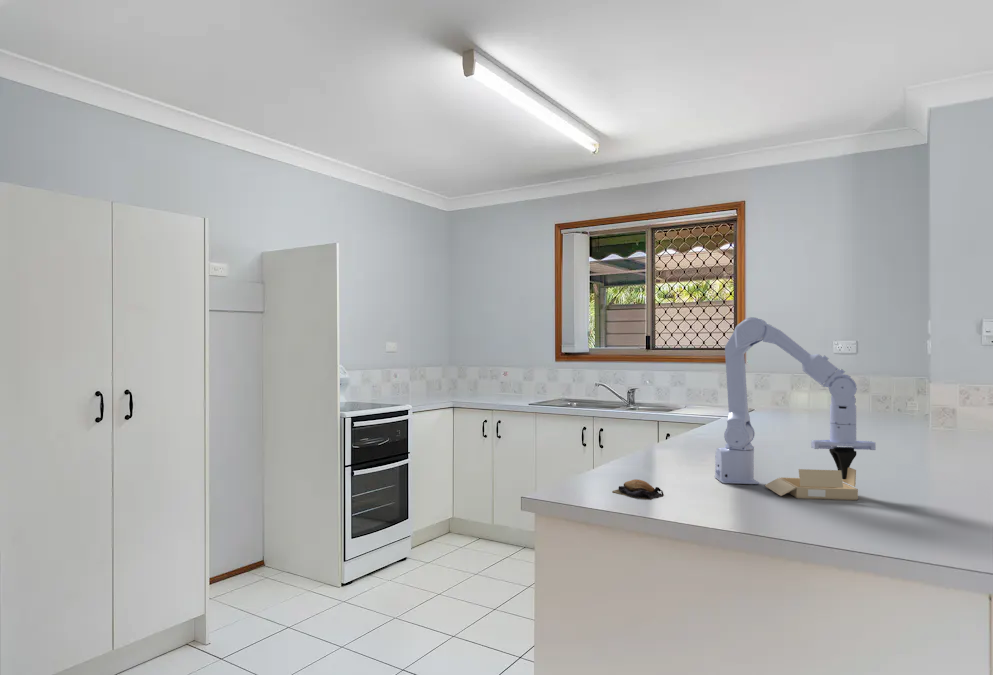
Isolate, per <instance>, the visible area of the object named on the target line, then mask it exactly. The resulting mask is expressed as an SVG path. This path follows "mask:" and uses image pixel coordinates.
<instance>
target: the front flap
mask: <svg viewBox="0 0 993 675" xmlns="http://www.w3.org/2000/svg"><path fill="white" fill-rule="evenodd" d="M798 478H800V486H807V487H840V488H843V483H844V482H843V481H842V473H841V470H838V469H809V468H808V469H807V468H806V469H805V468H804V469H803V468H801V469H800V468H799V469H798Z"/></svg>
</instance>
